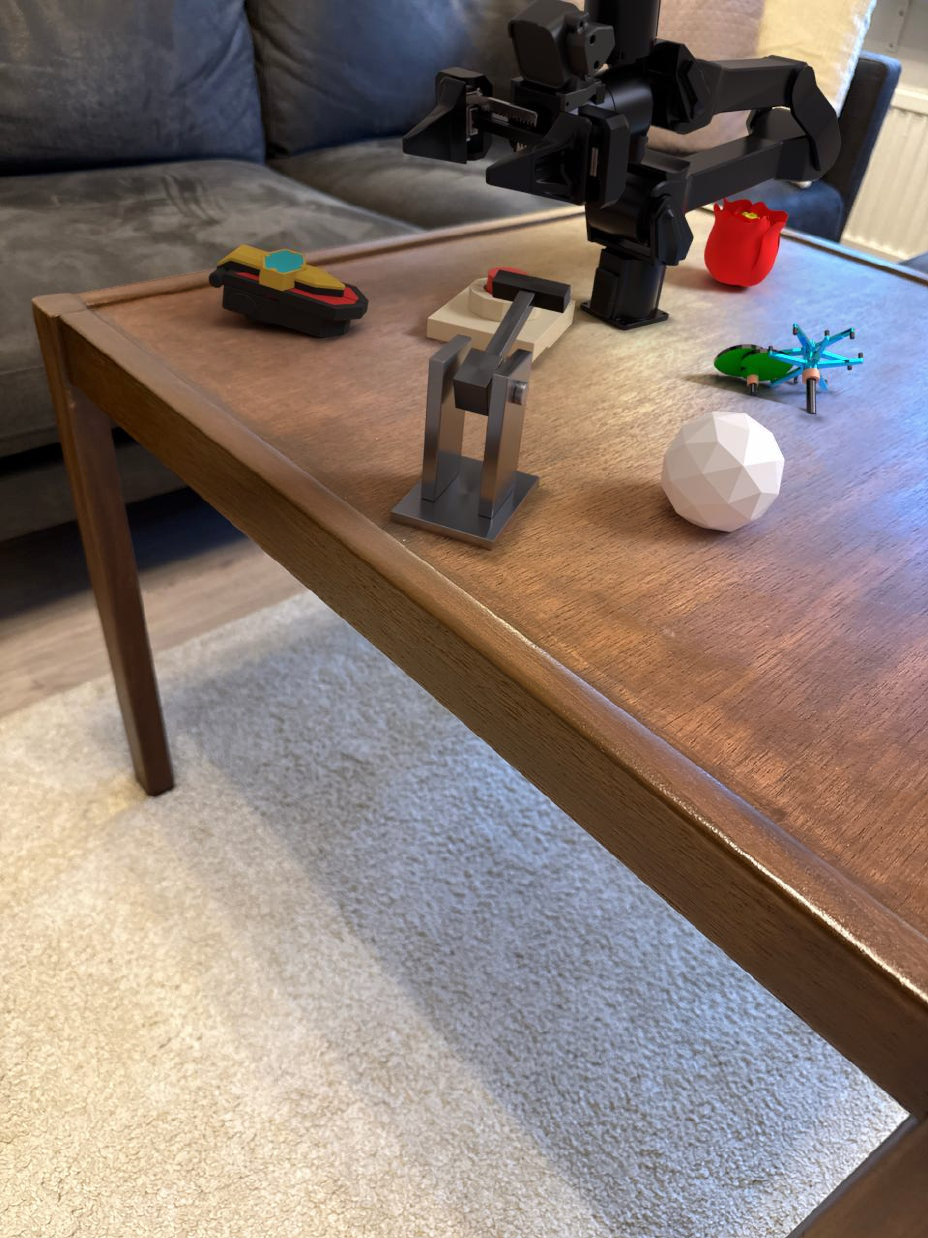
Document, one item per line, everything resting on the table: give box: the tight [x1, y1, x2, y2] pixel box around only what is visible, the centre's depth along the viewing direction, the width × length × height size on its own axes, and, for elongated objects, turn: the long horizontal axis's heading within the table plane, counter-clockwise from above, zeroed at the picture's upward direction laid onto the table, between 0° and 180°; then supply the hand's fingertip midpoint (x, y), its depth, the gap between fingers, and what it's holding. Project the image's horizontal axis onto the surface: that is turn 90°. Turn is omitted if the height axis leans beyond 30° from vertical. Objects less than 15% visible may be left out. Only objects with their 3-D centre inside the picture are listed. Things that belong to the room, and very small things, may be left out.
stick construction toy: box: [713, 323, 864, 416], centre depth 80 cm, size 12×7×8 cm
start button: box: [486, 266, 528, 295], centre depth 85 cm, size 4×4×2 cm
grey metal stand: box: [390, 334, 541, 551], centre depth 60 cm, size 9×7×11 cm
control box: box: [425, 276, 577, 363], centre depth 86 cm, size 12×10×4 cm
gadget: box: [208, 243, 370, 338], centre depth 84 cm, size 6×13×6 cm, turn 78°
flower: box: [703, 198, 789, 288], centre depth 101 cm, size 8×8×8 cm
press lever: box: [453, 269, 572, 417], centre depth 60 cm, size 11×5×2 cm, turn 158°
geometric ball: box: [659, 410, 786, 533], centre depth 62 cm, size 8×8×8 cm
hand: (443, 160), depth 69 cm, fingers open, 9 cm apart
